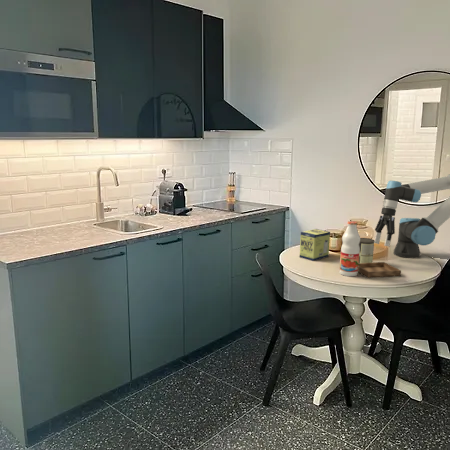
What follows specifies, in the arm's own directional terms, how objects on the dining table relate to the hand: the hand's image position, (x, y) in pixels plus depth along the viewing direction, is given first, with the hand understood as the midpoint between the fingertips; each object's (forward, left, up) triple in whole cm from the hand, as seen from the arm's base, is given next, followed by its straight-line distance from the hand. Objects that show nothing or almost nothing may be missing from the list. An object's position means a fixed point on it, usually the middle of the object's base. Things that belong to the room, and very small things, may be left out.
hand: (381, 244), depth 257 cm
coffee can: (+10, -1, -11) cm, 15 cm away
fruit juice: (+28, +15, -11) cm, 34 cm away
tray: (+12, +15, -11) cm, 22 cm away
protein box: (+32, -19, -11) cm, 39 cm away
